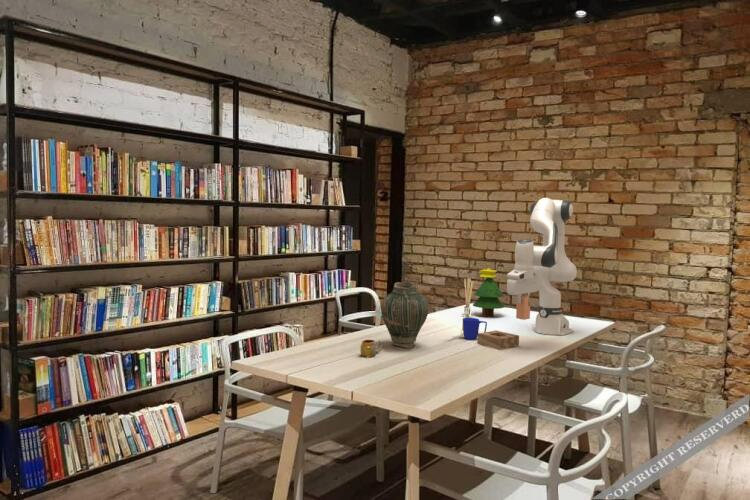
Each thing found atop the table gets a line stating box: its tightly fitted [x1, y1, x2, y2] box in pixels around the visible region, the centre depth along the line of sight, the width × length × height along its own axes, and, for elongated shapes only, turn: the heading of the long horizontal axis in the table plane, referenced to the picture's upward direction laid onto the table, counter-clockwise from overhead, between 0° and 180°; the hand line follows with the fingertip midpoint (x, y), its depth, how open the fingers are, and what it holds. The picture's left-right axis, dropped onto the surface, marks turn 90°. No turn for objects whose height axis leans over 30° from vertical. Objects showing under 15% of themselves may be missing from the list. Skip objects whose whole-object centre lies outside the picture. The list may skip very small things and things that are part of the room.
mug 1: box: [359, 339, 383, 359], centre depth 248 cm, size 12×7×7 cm, turn 132°
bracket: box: [515, 294, 531, 321], centre depth 268 cm, size 4×4×11 cm
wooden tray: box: [476, 330, 520, 351], centre depth 274 cm, size 14×14×5 cm
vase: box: [380, 281, 430, 349], centre depth 266 cm, size 22×22×30 cm
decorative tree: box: [472, 267, 505, 318], centre depth 350 cm, size 19×19×30 cm
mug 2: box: [462, 317, 488, 341], centre depth 285 cm, size 8×12×10 cm
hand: (522, 302), depth 267 cm, fingers closed on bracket, 3 cm apart
